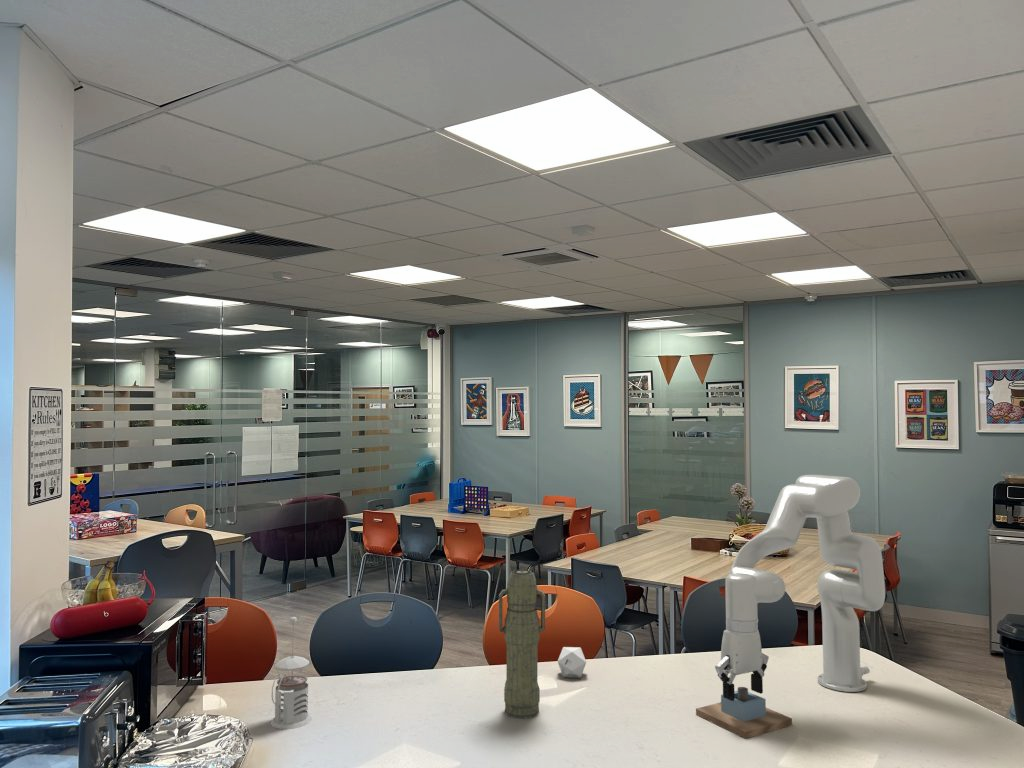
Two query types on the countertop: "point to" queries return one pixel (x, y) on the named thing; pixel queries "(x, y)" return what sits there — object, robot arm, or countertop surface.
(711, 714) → the post board
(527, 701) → the thermos
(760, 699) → the slate ring
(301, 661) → the french press
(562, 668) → the die
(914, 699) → the countertop surface
